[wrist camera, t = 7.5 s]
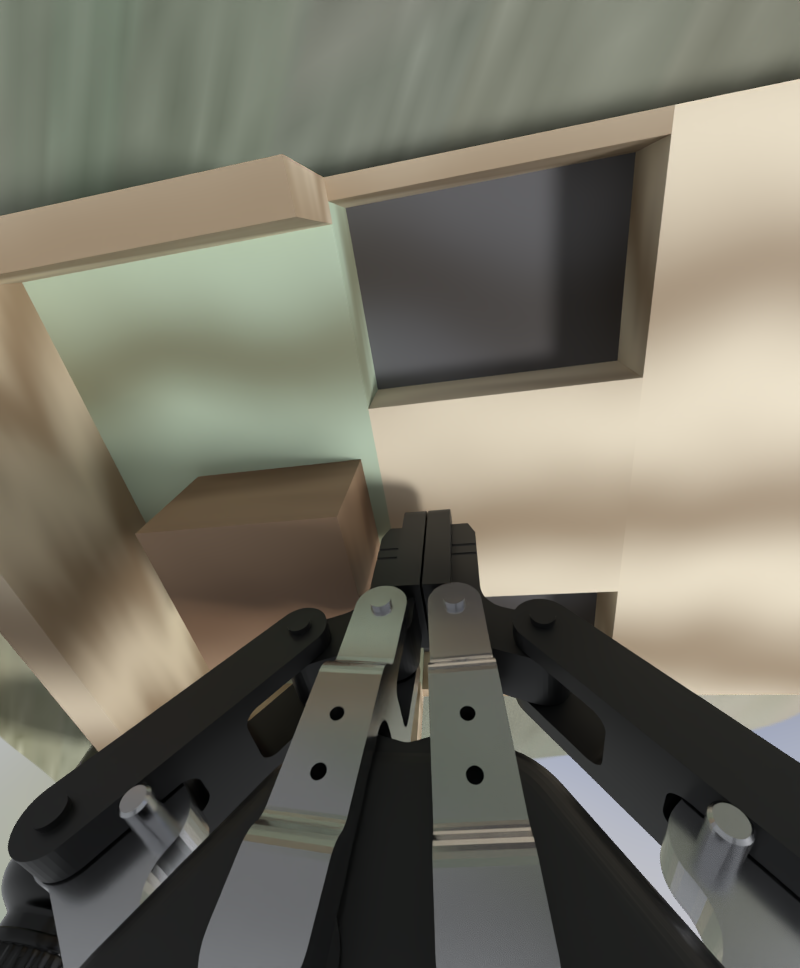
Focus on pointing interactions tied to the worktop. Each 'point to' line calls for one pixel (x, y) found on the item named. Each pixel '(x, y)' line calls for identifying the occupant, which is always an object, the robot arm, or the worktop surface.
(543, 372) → the box
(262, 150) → the worktop surface
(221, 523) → the walnut block
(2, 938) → the supplement bottle
